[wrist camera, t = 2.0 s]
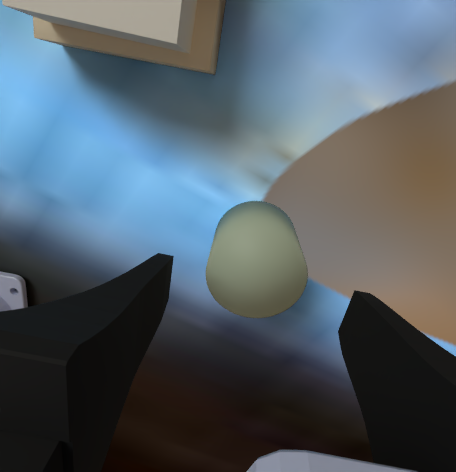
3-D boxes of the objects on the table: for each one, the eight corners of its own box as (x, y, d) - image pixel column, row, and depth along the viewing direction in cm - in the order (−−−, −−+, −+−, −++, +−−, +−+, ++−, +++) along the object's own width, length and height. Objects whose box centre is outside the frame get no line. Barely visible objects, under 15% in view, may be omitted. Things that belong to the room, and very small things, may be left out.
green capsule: (284, 280, 18) (292, 325, 15) (209, 266, 18) (199, 308, 15) (304, 209, 17) (320, 240, 13) (222, 193, 17) (214, 220, 13)
